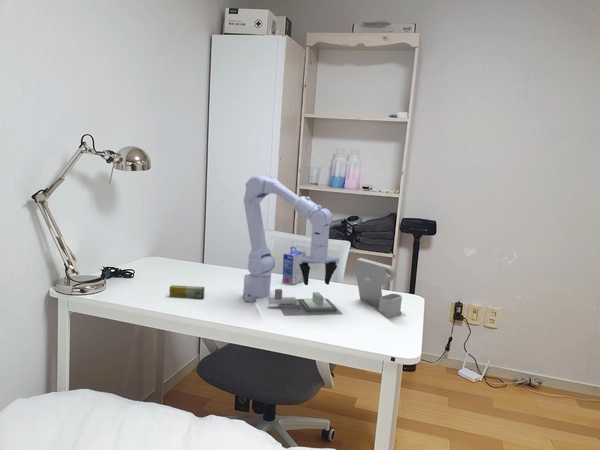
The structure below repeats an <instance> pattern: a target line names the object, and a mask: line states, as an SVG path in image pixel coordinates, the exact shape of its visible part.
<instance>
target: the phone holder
mask: <svg viewBox="0 0 600 450" xmlns="http://www.w3.org/2000/svg"><path fill="white" fill-rule="evenodd" d="M354 267H355V273H356V280H357V281H356V282H357V287H358V295H359V299H360V300H362V301H365V302H366V303H367V304H369V305H370V307H372V308H373V309H374V310H375V311H377V312H378V313H379V314H381V316H383V317H384V318H385V319H390V318H391V319H392V318H393V317H396V316H400V315H402V311H401V308H402V300H403V296H402V295H401V294H398V293H389V294H386V295H383V293H382V286H383V285H385V284H387V283H389V282H392V281H393V280H394V279H396V277H397V271H396V269H395V268H394V267H393V266H392V265H389V264H386V263H385V264H384V263H381V262H377V261H374V260H370V259H366V258H363V257H359V258H357V259H356V260H355V261H354ZM386 270H387V271H389V273H390V274H388V272H387V271H386ZM365 275H368V278H369V280H367V279H366V277H365Z"/></svg>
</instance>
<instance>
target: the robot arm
mask: <svg viewBox="0 0 600 450" xmlns="http://www.w3.org/2000/svg"><path fill="white" fill-rule="evenodd" d="M270 194H275V195H277V196H278V197H280V198H281V199H284V200H285V201H286V202H287V203H290V204H292V205H293V209H294V211H295V212H297V213H298V214H300V215H301V216H303V217H304V218H306V219H307V220H308V221H309V222H310V224H311V225H312V227H311V228H312V229H311V240H310V252H309V253H310V254H309V255H308V256H307V255H306V257H297V263H298V264H299V266H300V268H301V271H302V275H303V280H304V281H303V284H304V285H305V286H308V285H309V277H310V276H309V275H310V270H311V266H309V265H310V264H324V268H325V271H324V272H325V274H324V284H326V285H330V281H331V279H332V276H333V274H334V272H335V271H336V270H337V268H338V264H340V258H339V257H338V256H328V250H329V249H328V248H329V238H330V224H331V223H332V222H333V218H334V217H333V213H332V211H331V210H329V208H325V207H324V208H323V207H322V205H320V204H317V203H315V202H313V200H312V199H311V197H310V196H304V195H302V196H298V195H297V194H296V193H294V192H293V191H292V190H290V188H287V186H285V185H284V184H282V183H281V182H280V181H279V180H278V179H276V178H273V177H272V176H271V175H263V176H262V175H253V176H250V178H249V179H248V180H247V181H246V183H245V192H244V197H243V205H244V211H245V215H246V216H245V217H246V223H247V228H248V229H247V230H248V234H249V235H248V236H249V241H250V246H251V250H250V251H249V253H248V262H247V270H248V272H249V273H246V274H244V278H243V294H242V295H243V298H244V300H245V302H257V300H256V298H261V299H263V298H269V297H270V294H271V280H272V270H273V269H274V268H275V267H276V260H275V258H274V257H273V255H272V251H271V249H270V248H269V246H268V245H267V240H266V234H265V229H264V222H263V221H264V220H263V215H262V209H261V202H262V201H263V199H265V197H267V196H268V195H270Z"/></svg>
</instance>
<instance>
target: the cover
mask: <svg viewBox="0 0 600 450" xmlns="http://www.w3.org/2000/svg"><path fill="white" fill-rule="evenodd" d="M302 299H303V302H304V304H305V305H306V306H307V307H308V309H310V308H332V306H331V305H330V304H329V303H328V302H327V301H326V300H325V299H326V298H325V297H324V296H323V295H322V294H321V293H320V292H319V291H312V297H311V298H302Z"/></svg>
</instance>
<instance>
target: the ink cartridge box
mask: <svg viewBox="0 0 600 450" xmlns="http://www.w3.org/2000/svg"><path fill="white" fill-rule="evenodd" d="M289 248H290V252H286V253H283V257H282V262H283V263H282V283H283V284H287V285H290V284H291V285H290V286H292V285H296V284H299V283H301V282H304V280H303V275H302V271H301V268H300V266H299V264H298V263H297V257H306V256H307V252H306V251H300V250H297V247H296V246H290V247H289Z"/></svg>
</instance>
